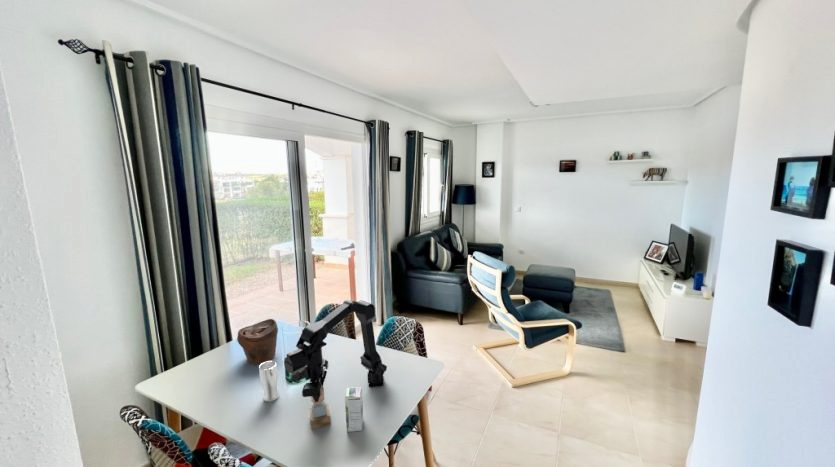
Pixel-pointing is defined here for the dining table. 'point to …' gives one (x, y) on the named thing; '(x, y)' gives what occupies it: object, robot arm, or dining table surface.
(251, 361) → the brown plant pot
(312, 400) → the tan rounded tapered piece
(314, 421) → the walnut base block
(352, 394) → the syrup box
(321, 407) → the slate block
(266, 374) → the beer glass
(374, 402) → the dining table surface
